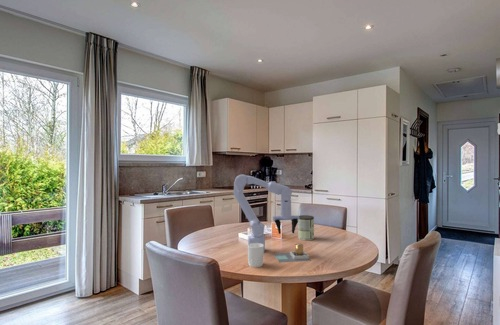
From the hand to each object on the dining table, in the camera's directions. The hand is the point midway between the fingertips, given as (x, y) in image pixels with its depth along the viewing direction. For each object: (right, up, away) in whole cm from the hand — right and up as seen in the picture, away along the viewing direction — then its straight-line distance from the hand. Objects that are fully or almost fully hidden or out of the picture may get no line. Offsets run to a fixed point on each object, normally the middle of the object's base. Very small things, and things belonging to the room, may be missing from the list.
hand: (286, 233), depth 158 cm
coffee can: (+16, -11, +28) cm, 34 cm away
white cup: (-17, -11, -21) cm, 30 cm away
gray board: (+1, -10, -11) cm, 15 cm away
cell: (+5, -10, -10) cm, 15 cm away
